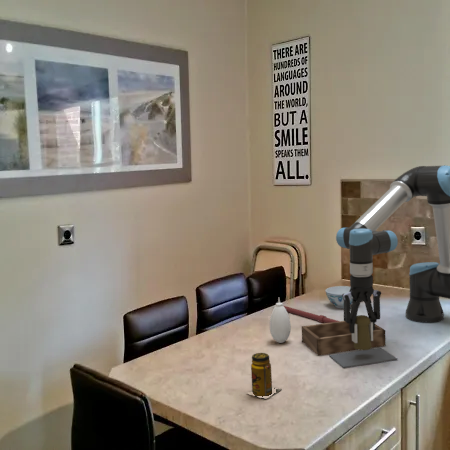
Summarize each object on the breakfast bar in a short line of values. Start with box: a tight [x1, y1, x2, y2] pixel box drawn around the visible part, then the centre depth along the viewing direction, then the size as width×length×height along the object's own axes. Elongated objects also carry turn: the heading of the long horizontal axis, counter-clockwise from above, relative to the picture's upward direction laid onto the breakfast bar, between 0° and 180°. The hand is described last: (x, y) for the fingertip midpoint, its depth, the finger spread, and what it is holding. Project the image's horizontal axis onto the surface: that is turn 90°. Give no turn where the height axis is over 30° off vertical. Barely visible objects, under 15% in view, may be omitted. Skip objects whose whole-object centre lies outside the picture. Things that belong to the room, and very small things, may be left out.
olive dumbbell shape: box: [354, 314, 373, 351], centre depth 185 cm, size 6×6×11 cm
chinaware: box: [325, 285, 353, 309], centre depth 248 cm, size 15×15×8 cm
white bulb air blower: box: [269, 298, 292, 344], centre depth 205 cm, size 8×8×18 cm
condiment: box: [250, 352, 282, 397], centre depth 163 cm, size 7×8×12 cm
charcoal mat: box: [328, 347, 399, 369], centre depth 186 cm, size 20×11×1 cm, turn 103°
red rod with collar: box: [283, 305, 340, 324], centre depth 232 cm, size 45×3×3 cm, turn 37°
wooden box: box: [301, 320, 387, 356], centre depth 201 cm, size 26×15×6 cm, turn 103°
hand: (362, 340), depth 185 cm, fingers closed on olive dumbbell shape, 5 cm apart
